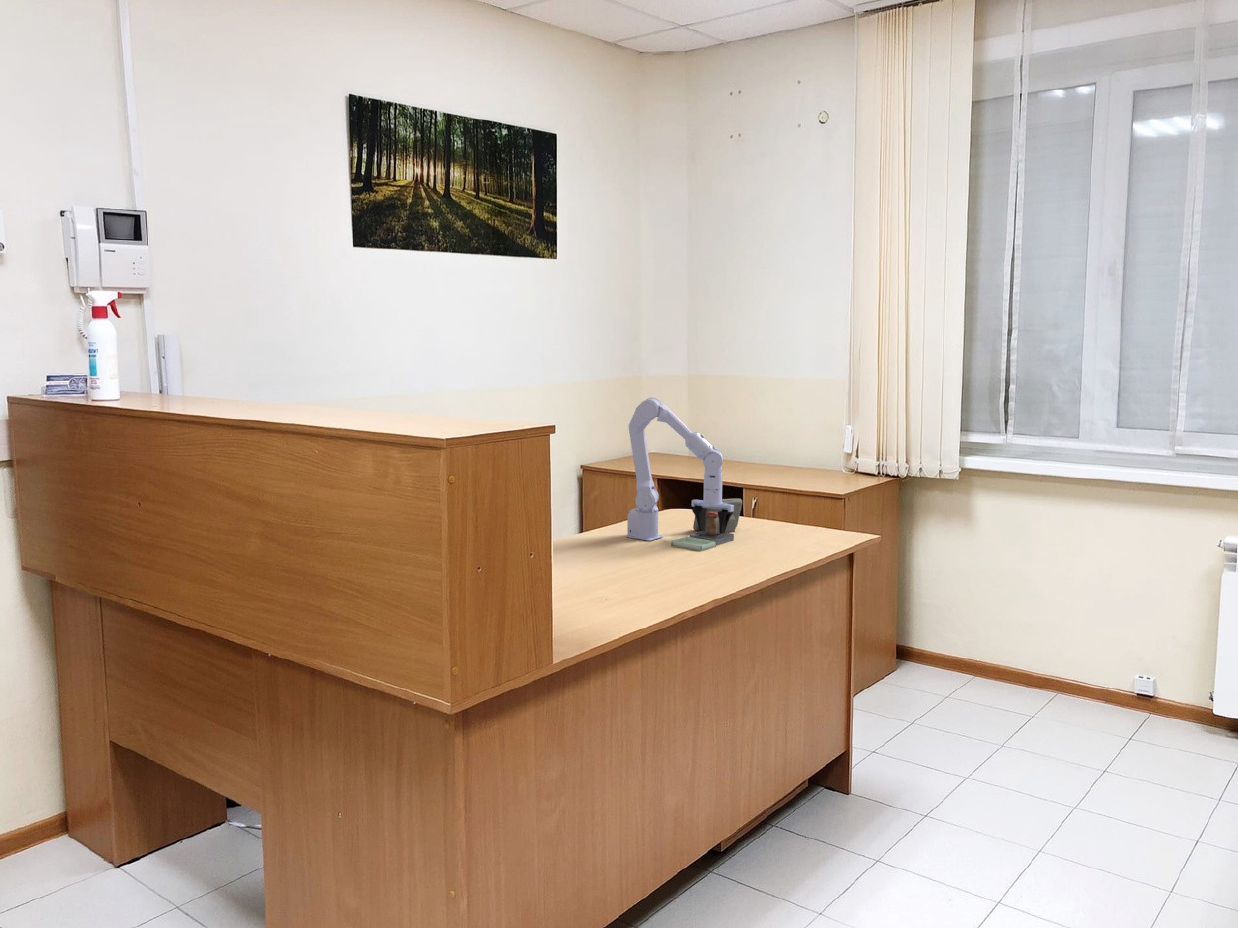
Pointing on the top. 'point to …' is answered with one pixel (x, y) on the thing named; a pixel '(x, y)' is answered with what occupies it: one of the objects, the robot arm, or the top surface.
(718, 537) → the socket plate
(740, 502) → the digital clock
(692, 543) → the tray
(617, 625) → the top surface
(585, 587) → the top surface
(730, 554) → the top surface
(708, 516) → the pin
